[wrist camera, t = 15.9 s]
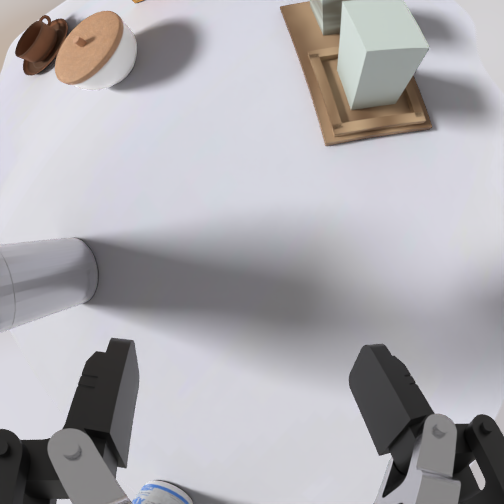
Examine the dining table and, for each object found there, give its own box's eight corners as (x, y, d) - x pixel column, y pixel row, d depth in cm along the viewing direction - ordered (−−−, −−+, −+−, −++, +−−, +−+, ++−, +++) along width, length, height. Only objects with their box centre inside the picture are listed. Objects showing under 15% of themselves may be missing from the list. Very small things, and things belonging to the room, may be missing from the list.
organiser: (325, 146, 29) (330, 96, 17) (280, 11, 29) (261, -61, 16) (429, 129, 27) (483, 83, 14) (371, -1, 26) (382, -70, 13)
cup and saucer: (32, 45, 38) (12, 36, 32) (74, 12, 35) (55, -2, 29) (27, 89, 38) (4, 81, 32) (71, 54, 35) (47, 41, 29)
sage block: (351, 110, 28) (366, 51, 16) (336, 70, 27) (342, 1, 16) (395, 104, 26) (429, 47, 15) (379, 64, 26) (402, -2, 15)
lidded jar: (86, 61, 35) (46, 39, 26) (143, 23, 32) (108, -9, 23) (93, 114, 35) (46, 95, 26) (157, 73, 32) (116, 41, 23)
